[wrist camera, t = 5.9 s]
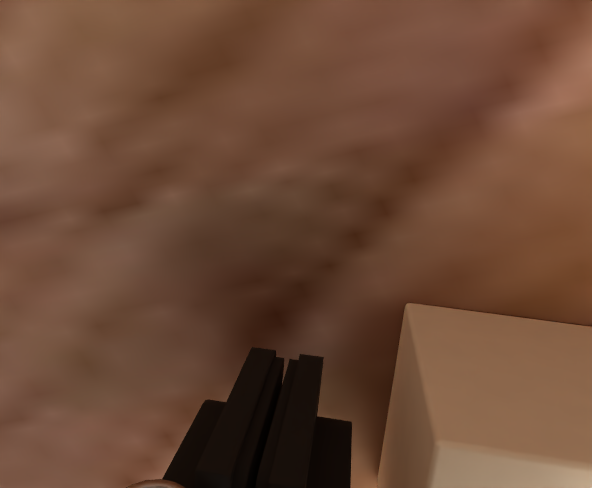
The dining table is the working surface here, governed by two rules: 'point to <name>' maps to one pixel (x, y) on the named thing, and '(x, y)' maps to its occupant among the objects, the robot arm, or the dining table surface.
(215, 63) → the dining table surface
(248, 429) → the robot arm
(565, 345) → the cream block
